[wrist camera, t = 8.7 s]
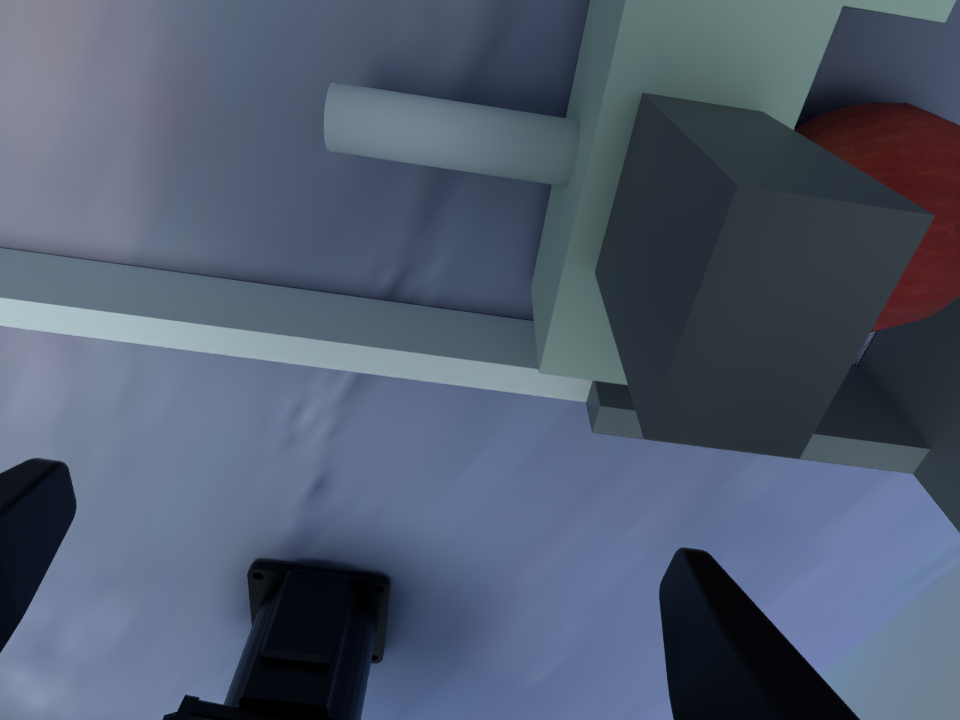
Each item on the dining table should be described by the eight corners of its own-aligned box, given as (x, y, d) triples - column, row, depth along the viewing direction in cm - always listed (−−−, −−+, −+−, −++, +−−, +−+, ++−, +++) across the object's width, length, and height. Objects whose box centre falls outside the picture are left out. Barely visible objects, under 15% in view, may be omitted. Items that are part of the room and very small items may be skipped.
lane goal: (871, 391, 23) (998, 541, 17) (-94, 261, 21) (-322, 380, 15) (1173, -116, 15) (1611, -161, 9) (-350, -400, 13) (-1045, -687, 7)
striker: (708, 312, 21) (875, 597, 12) (346, 261, 20) (218, 521, 11) (846, -42, 15) (1361, -34, 6) (358, -127, 15) (123, -258, 6)
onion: (659, 295, 20) (888, 322, 21) (757, 342, 14) (1061, 375, 15) (701, 95, 18) (946, 136, 19) (831, 61, 12) (1164, 122, 14)
